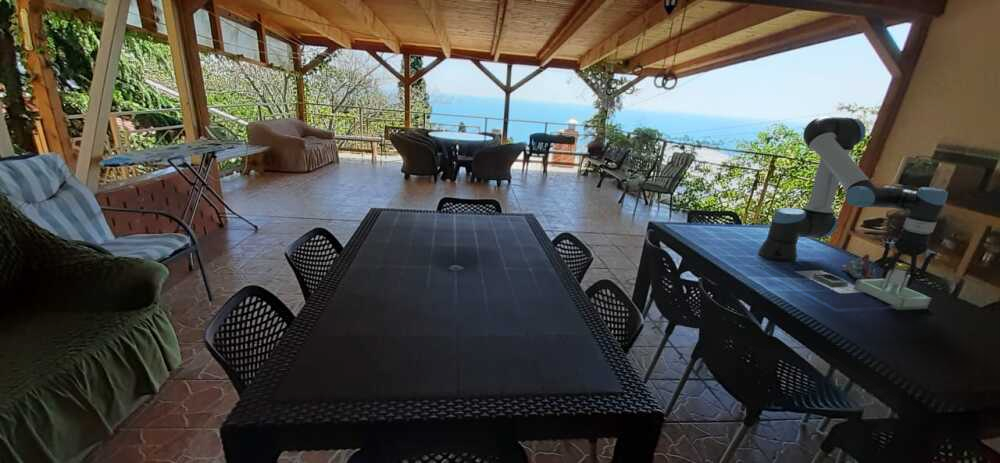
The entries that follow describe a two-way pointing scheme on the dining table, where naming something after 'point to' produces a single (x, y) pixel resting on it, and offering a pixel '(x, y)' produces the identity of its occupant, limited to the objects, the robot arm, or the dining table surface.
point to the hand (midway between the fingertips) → (892, 288)
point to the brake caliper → (860, 268)
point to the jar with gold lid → (897, 278)
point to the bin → (901, 302)
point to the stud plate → (830, 281)
